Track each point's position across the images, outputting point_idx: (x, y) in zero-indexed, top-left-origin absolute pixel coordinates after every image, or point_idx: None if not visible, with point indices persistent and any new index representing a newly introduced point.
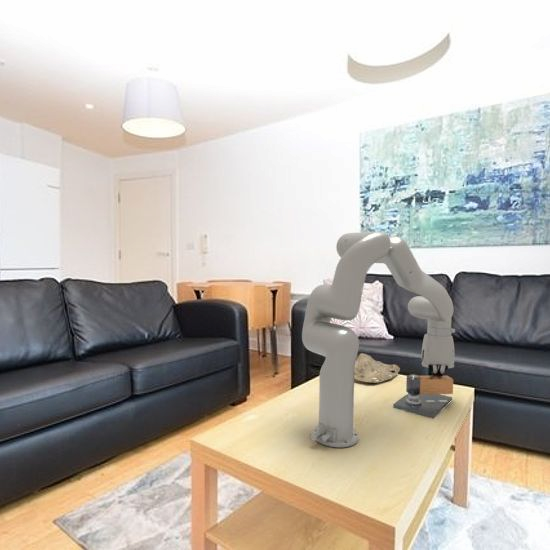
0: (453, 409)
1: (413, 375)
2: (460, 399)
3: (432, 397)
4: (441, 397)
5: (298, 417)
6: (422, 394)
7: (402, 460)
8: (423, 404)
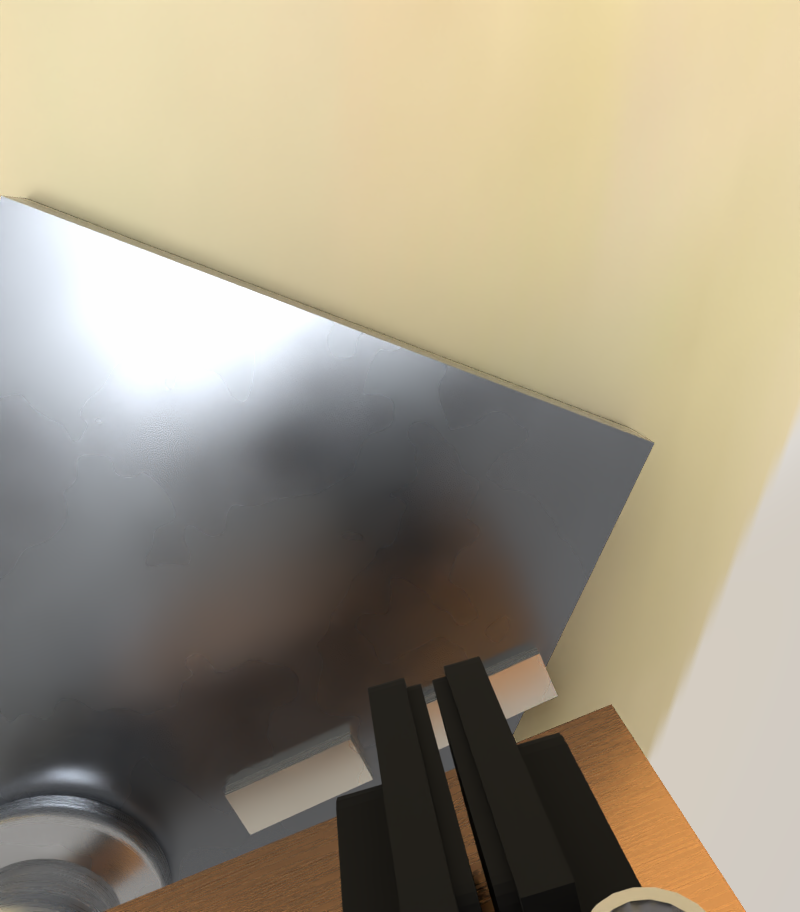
0: None
1: None
2: (772, 321)
3: (338, 580)
4: (482, 522)
5: None
6: (170, 502)
7: None
8: None
